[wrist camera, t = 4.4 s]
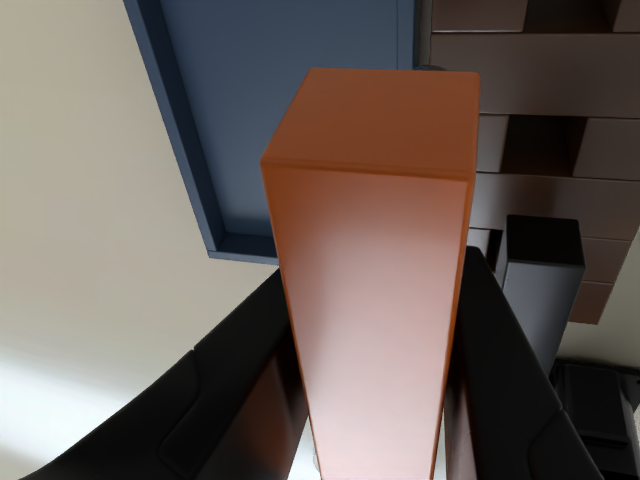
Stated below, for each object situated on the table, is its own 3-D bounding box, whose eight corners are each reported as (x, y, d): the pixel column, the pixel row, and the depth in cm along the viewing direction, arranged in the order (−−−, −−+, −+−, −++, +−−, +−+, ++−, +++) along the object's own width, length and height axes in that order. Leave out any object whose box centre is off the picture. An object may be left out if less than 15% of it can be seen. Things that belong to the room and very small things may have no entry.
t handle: (454, 214, 16) (427, 522, 10) (388, 208, 17) (323, 500, 10) (488, -87, 11) (476, 175, 5) (390, -82, 11) (255, 159, 5)
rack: (585, 249, 25) (598, 326, 21) (427, 235, 26) (418, 304, 23) (744, -224, 13) (820, -209, 10) (451, -195, 15) (439, -174, 12)
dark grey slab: (524, 249, 25) (533, 421, 19) (481, 246, 26) (476, 412, 20) (559, 98, 20) (587, 268, 14) (504, 97, 21) (507, 260, 14)
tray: (413, 251, 27) (408, 279, 26) (222, 233, 30) (208, 258, 28) (428, -249, 14) (421, -246, 13) (90, -207, 17) (54, -201, 16)
